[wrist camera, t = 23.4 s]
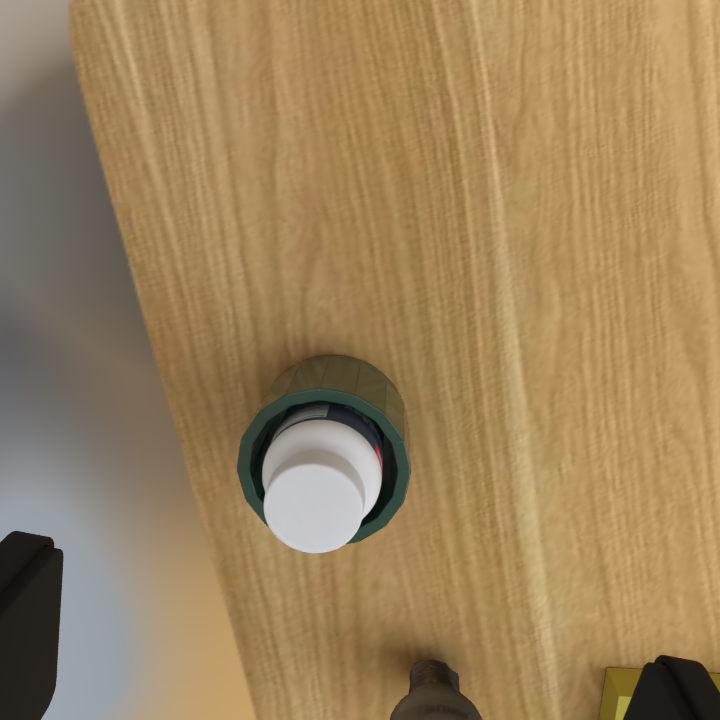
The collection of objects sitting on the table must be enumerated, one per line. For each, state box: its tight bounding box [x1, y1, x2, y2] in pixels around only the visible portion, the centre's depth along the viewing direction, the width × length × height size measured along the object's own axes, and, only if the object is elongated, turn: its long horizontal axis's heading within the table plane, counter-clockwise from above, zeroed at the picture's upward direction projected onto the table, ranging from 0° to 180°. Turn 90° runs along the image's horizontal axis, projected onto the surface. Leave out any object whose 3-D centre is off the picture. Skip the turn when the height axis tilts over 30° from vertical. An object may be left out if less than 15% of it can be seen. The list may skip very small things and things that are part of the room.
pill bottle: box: [262, 400, 384, 553], centre depth 30 cm, size 5×5×9 cm
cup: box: [237, 355, 411, 544], centre depth 32 cm, size 8×8×6 cm
